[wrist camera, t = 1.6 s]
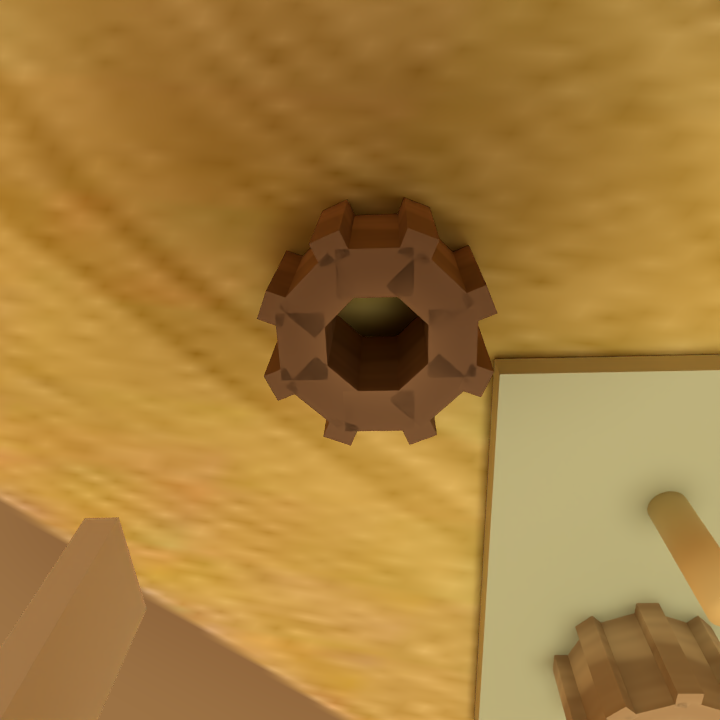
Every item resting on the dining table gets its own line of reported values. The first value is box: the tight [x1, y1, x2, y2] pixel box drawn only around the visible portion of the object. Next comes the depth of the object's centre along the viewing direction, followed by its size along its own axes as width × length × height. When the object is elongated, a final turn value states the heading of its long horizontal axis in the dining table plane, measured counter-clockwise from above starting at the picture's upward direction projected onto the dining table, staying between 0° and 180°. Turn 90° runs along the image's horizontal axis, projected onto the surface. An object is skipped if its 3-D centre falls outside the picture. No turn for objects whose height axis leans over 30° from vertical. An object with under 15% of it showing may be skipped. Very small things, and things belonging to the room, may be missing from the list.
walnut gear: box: [257, 198, 497, 445], centre depth 25 cm, size 8×8×5 cm
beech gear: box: [553, 603, 720, 720], centre depth 31 cm, size 8×8×5 cm
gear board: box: [474, 354, 720, 720], centre depth 29 cm, size 24×16×8 cm, turn 2°
